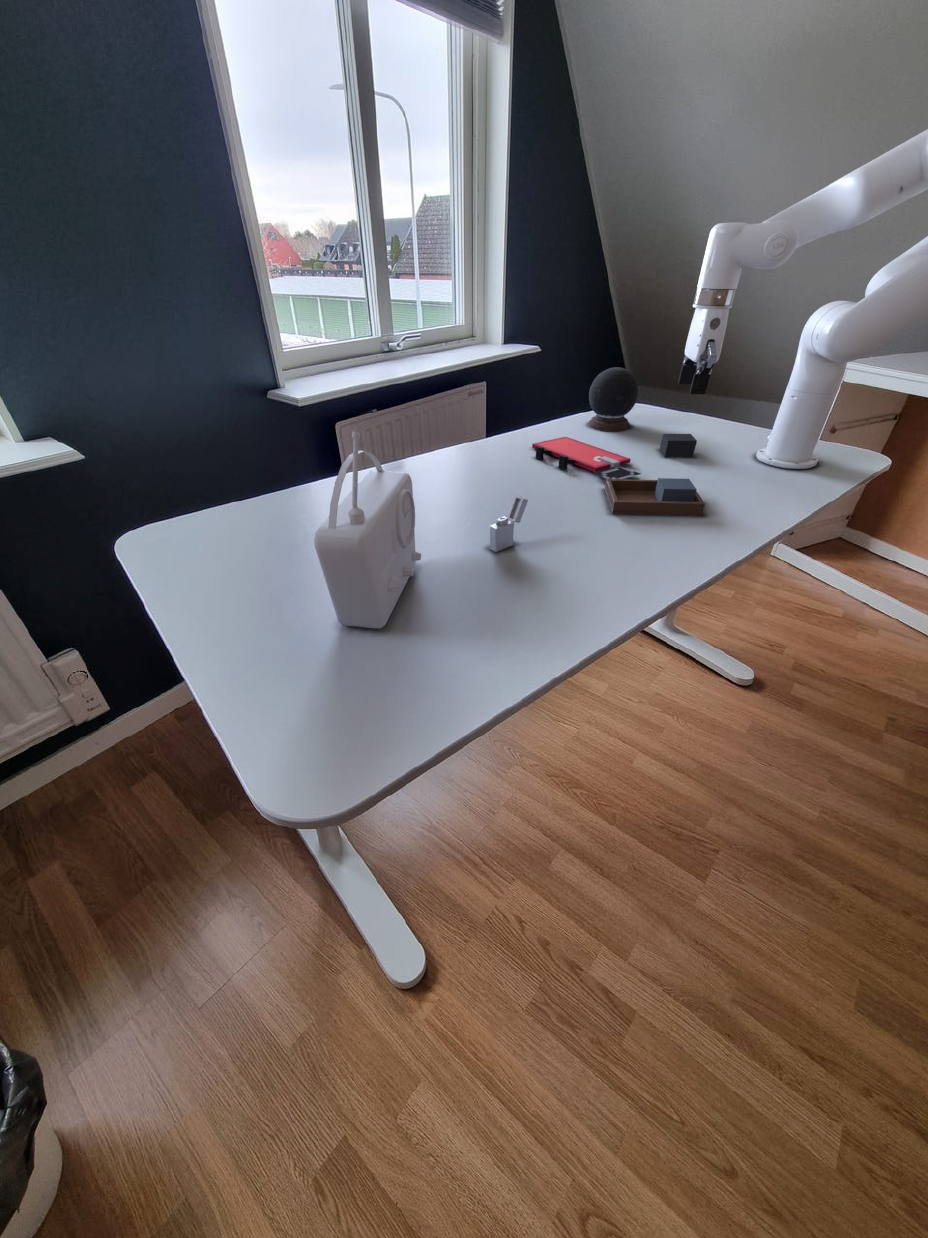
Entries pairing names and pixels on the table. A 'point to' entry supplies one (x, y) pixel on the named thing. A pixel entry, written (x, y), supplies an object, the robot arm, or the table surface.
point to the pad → (675, 490)
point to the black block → (678, 445)
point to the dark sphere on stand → (612, 399)
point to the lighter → (506, 526)
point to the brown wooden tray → (646, 499)
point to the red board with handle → (585, 457)
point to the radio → (368, 543)
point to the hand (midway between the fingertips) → (690, 388)
